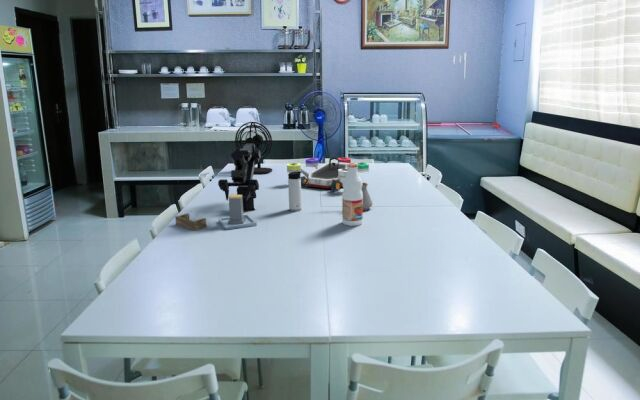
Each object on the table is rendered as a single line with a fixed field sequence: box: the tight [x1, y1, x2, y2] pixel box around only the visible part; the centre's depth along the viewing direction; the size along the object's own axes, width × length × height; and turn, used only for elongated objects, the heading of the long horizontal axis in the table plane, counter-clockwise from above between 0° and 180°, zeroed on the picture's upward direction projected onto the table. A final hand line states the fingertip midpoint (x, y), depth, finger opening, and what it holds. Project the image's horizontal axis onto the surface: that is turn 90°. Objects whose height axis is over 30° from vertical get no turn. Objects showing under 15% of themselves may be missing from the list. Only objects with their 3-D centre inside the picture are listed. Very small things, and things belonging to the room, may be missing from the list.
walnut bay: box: [174, 213, 207, 231], centre depth 240 cm, size 7×14×4 cm, turn 49°
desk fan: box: [234, 121, 273, 175], centre depth 352 cm, size 27×18×35 cm, turn 74°
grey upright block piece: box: [228, 194, 246, 224], centre depth 241 cm, size 6×7×13 cm
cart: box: [286, 156, 370, 192], centre depth 318 cm, size 45×39×16 cm
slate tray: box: [217, 214, 258, 231], centre depth 243 cm, size 15×15×2 cm
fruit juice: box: [341, 162, 364, 227], centre depth 237 cm, size 9×9×28 cm
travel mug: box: [287, 171, 302, 212], centre depth 261 cm, size 6×7×20 cm
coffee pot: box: [331, 179, 374, 211], centre depth 263 cm, size 21×12×15 cm, turn 79°
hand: (236, 200), depth 241 cm, fingers open, 9 cm apart
